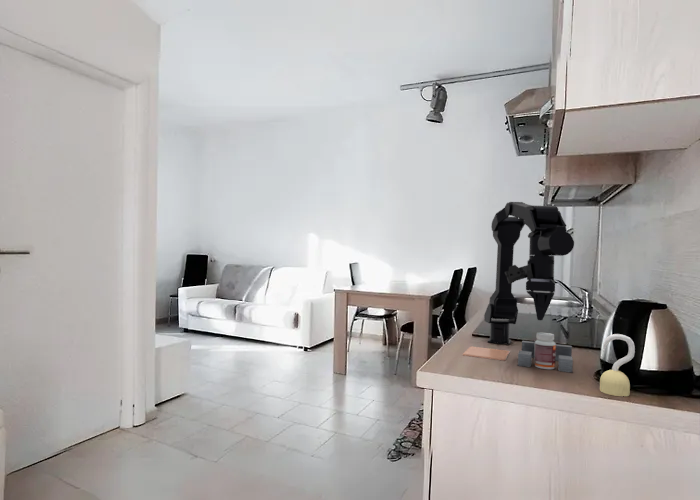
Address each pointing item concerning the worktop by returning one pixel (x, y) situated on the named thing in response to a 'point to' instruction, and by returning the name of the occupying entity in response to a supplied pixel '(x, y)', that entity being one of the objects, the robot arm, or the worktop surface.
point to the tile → (486, 353)
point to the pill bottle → (545, 351)
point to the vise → (561, 355)
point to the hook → (614, 379)
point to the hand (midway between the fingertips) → (540, 317)
